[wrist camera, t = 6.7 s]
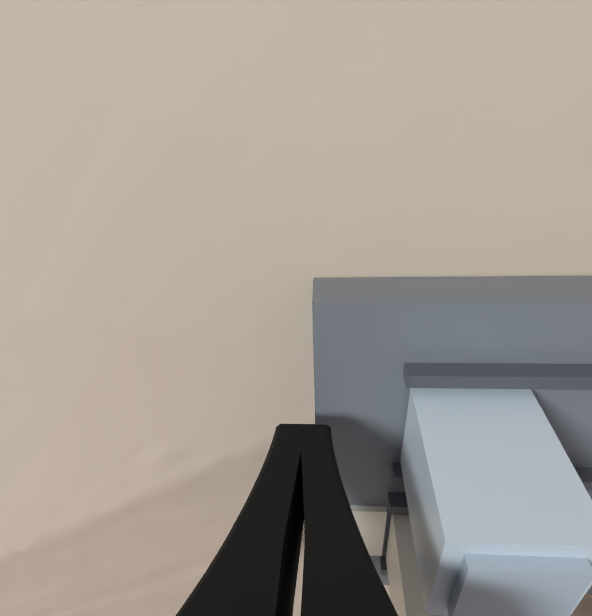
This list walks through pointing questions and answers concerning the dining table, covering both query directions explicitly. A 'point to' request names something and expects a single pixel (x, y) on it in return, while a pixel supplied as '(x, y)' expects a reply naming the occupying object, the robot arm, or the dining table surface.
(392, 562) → the cream switch
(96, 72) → the dining table surface
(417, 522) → the grey switch
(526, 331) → the switch panel
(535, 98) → the dining table surface
